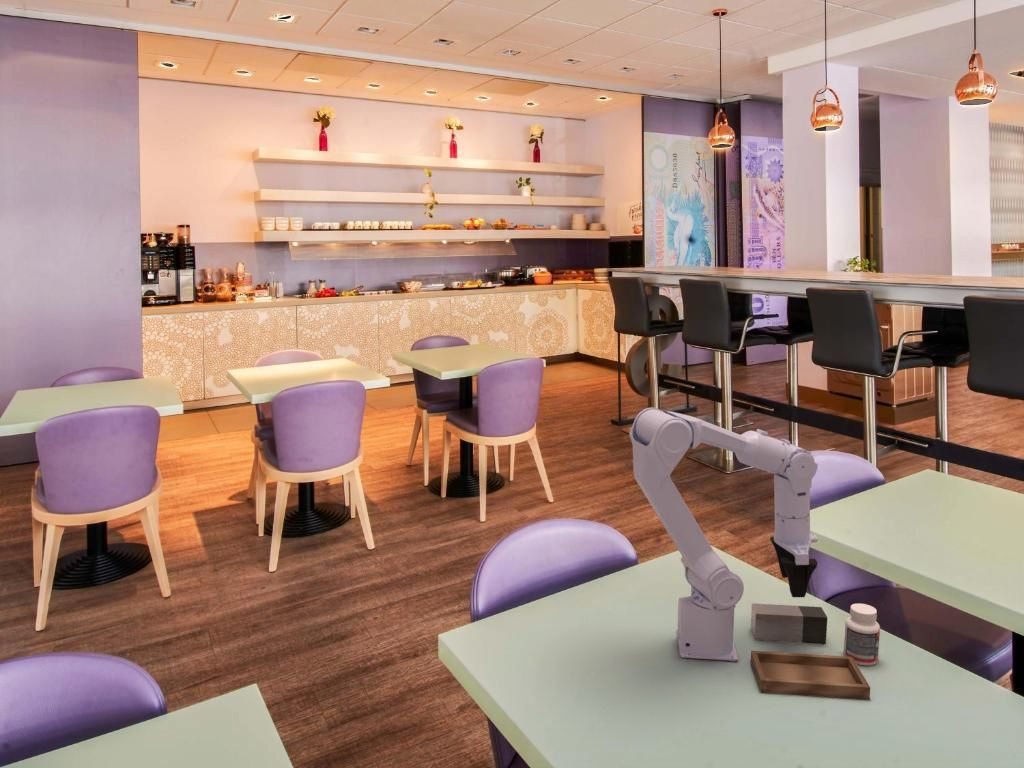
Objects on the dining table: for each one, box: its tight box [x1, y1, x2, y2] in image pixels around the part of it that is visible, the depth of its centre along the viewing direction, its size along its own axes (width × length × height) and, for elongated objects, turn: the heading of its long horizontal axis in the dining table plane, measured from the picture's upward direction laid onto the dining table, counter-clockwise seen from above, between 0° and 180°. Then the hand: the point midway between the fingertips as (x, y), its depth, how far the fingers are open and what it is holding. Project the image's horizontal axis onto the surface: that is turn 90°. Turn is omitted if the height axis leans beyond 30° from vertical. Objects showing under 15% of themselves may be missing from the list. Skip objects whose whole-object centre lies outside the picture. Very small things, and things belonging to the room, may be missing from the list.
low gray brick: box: [750, 603, 828, 645], centre depth 131 cm, size 12×4×5 cm, turn 82°
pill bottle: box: [843, 603, 881, 667], centre depth 123 cm, size 5×5×9 cm
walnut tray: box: [749, 650, 871, 701], centre depth 117 cm, size 16×9×2 cm, turn 82°
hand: (793, 586), depth 129 cm, fingers open, 7 cm apart
